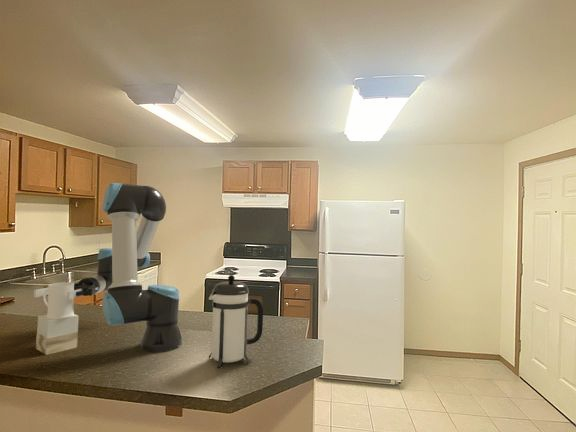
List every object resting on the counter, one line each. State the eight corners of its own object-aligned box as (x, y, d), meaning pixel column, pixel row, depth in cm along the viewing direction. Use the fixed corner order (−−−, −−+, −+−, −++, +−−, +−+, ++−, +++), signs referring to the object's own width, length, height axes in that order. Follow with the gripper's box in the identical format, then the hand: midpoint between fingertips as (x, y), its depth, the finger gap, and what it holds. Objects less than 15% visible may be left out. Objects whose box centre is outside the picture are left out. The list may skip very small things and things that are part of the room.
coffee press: (240, 373, 107) (242, 279, 109) (197, 365, 113) (201, 275, 114) (262, 355, 124) (264, 273, 125) (224, 349, 129) (227, 270, 131)
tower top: (77, 331, 127) (78, 315, 128) (47, 337, 119) (48, 320, 120) (67, 326, 133) (68, 311, 134) (37, 332, 125) (38, 316, 126)
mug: (34, 317, 124) (35, 284, 124) (55, 311, 132) (56, 281, 132) (59, 320, 121) (59, 286, 121) (79, 314, 129) (80, 282, 129)
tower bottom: (77, 347, 127) (77, 331, 127) (46, 355, 119) (47, 338, 119) (65, 342, 133) (66, 326, 133) (35, 348, 125) (36, 332, 125)
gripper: (118, 295, 143) (82, 306, 122) (64, 293, 146) (20, 303, 125) (118, 278, 143) (83, 285, 122) (65, 275, 146) (21, 283, 125)
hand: (51, 294), depth 123 cm, fingers open, 13 cm apart
